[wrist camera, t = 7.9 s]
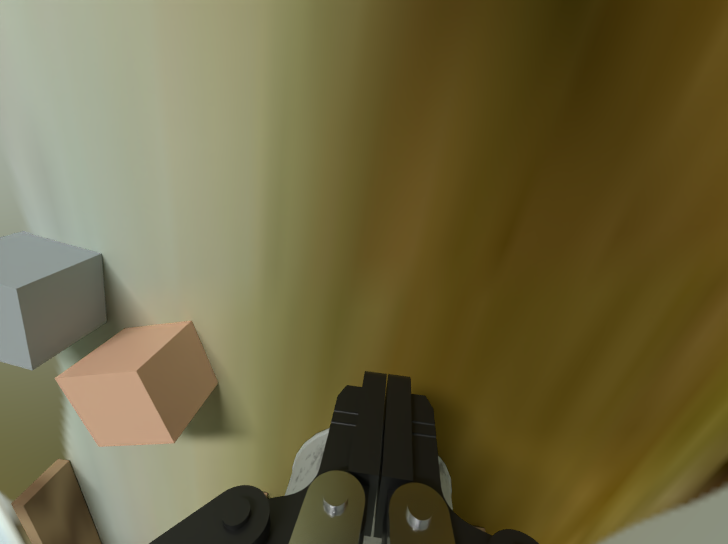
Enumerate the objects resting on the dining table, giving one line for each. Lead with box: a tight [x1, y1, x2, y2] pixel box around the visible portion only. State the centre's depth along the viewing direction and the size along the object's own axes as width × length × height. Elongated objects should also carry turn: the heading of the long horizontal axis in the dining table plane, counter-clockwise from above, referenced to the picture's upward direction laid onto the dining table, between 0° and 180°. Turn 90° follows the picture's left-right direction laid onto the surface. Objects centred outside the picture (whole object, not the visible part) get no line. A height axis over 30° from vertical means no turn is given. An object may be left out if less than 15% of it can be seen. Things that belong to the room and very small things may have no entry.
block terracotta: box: [55, 321, 218, 447], centre depth 17 cm, size 4×4×4 cm
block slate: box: [0, 231, 107, 370], centre depth 15 cm, size 4×4×4 cm
